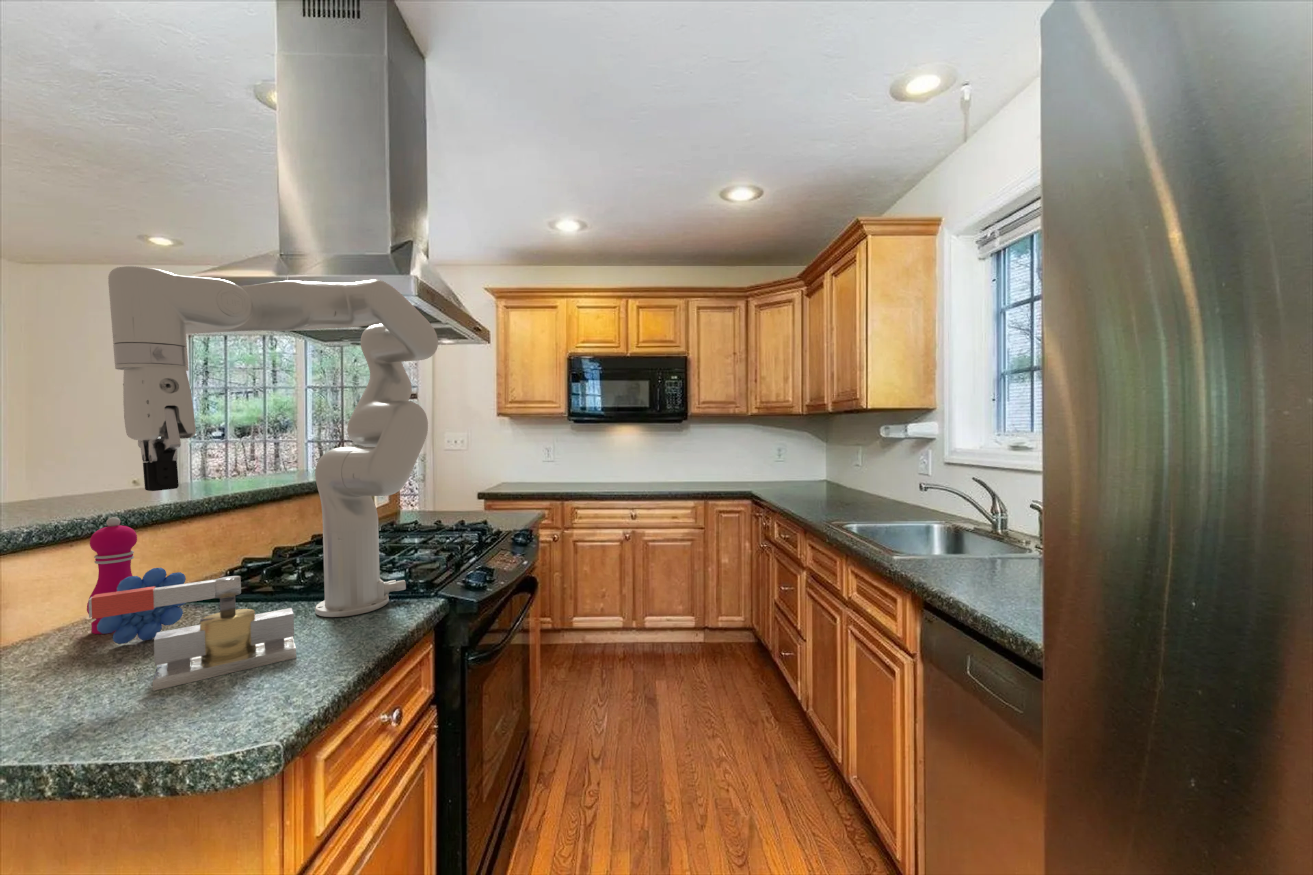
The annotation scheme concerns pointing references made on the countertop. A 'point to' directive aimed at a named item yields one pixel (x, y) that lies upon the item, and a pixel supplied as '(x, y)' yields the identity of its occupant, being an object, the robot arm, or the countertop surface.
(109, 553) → the pepper mill
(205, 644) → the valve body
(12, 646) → the countertop surface
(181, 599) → the valve lever
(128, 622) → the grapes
